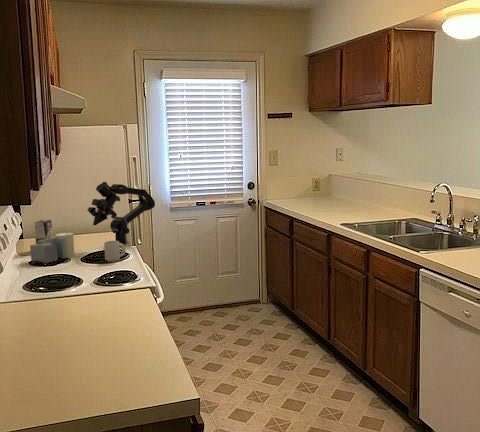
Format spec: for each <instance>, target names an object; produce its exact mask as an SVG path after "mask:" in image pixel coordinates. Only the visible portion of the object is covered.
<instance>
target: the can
mask: <svg viewBox="0 0 480 432" xmlns="http://www.w3.org/2000/svg"><path fill="white" fill-rule="evenodd" d="M54 237H56V238H63V239H64V243H65V257H66V258H65V259H69V258H73V257H75V256H76V252H75V251H76V250H75V240H74V239H75V237H74V233H73V232H61V233H56V234H55V235H54Z"/></svg>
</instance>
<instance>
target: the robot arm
mask: <svg viewBox="0 0 480 432" xmlns="http://www.w3.org/2000/svg"><path fill="white" fill-rule="evenodd" d="M95 191H96V192H98V194H100V195H101V197H102V198H100V199H98V198H93V199H92V201H91V205H92V206H89V207H88V208H87V210H86V211H87V212H88V213H89V214H91V216H92V217H94V218H93V222H92V225H93V226H97V225H99V224H101V223H102V222H104V221H105V220H108V217H111V219H112V221H111V222H110V226H109V227H110V229H111V232H112V233H113V234H114V235H115V241H119V243H121V244H123V245H124V246H125V245H126V244H127V245H128V244H129V243H130V241H128V238H127V235H128V234H129V233H130V229H129V228H128V225H129V224H130V223H131V222H132V221H134V220H135V219H136V218H137V217H139V216H140V215H141V214H142V213H144V212H147V211H150V210H152V209H154V207H156V201H155V199H154V198H153V197H152V196H151V194H149V192H147V190H146V189H143V188H134V187H128V186H126V185H125V184H122V183H112V185H111V186H109V185H108V183H107V181H103V182H102V183H100V184H98V185H97V186H96V188H95ZM119 195H134V196H137V197H138V198H137V199H138V201H139V203H138V205H137V206H136V207H134V209H132V210H130V211H129V212H128V213H126V214H125V215H123V216H117V215H118V214H117V212H116V211H115V210H114V205H115V204H116V202H121V197H120V196H119Z"/></svg>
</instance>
